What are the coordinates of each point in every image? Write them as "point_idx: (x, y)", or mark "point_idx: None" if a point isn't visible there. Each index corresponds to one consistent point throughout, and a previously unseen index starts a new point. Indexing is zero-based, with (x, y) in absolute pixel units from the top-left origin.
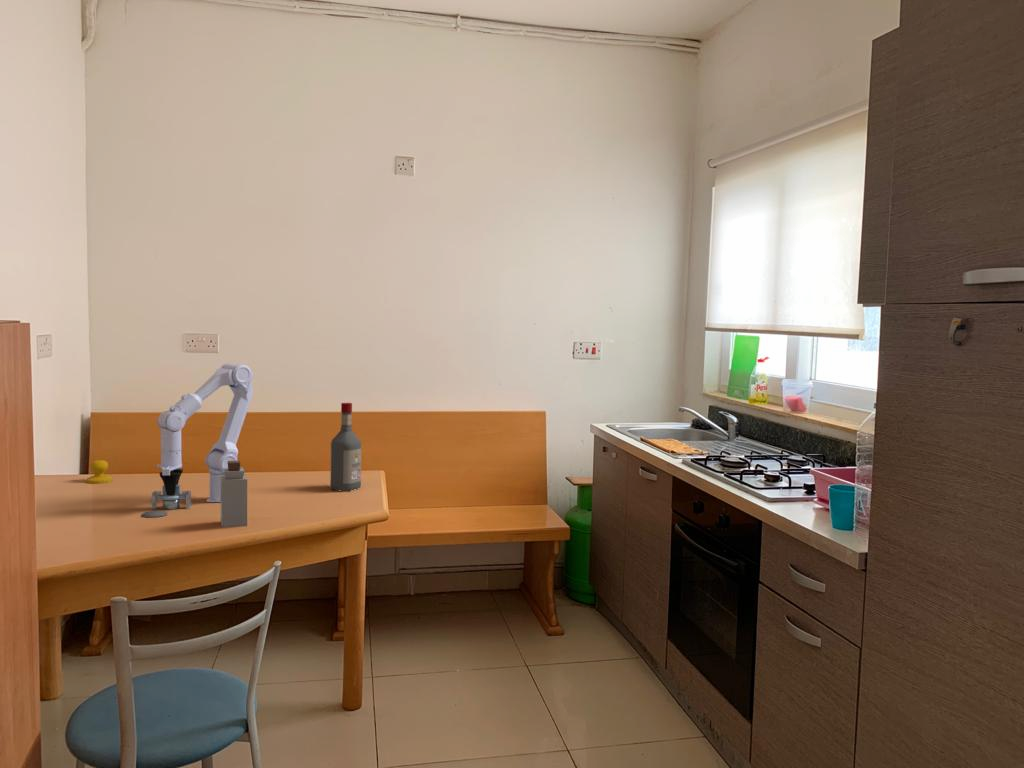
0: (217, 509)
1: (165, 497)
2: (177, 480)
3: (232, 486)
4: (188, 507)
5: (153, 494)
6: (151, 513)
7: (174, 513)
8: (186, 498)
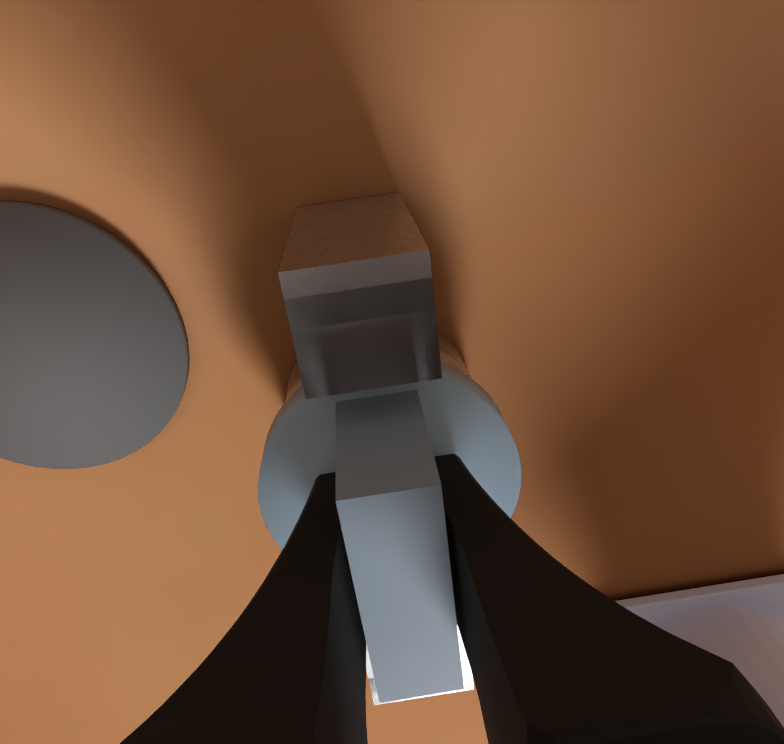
0: None
1: (262, 462)
2: (488, 727)
3: None
4: None
5: (286, 293)
6: (34, 312)
7: (157, 502)
8: None
